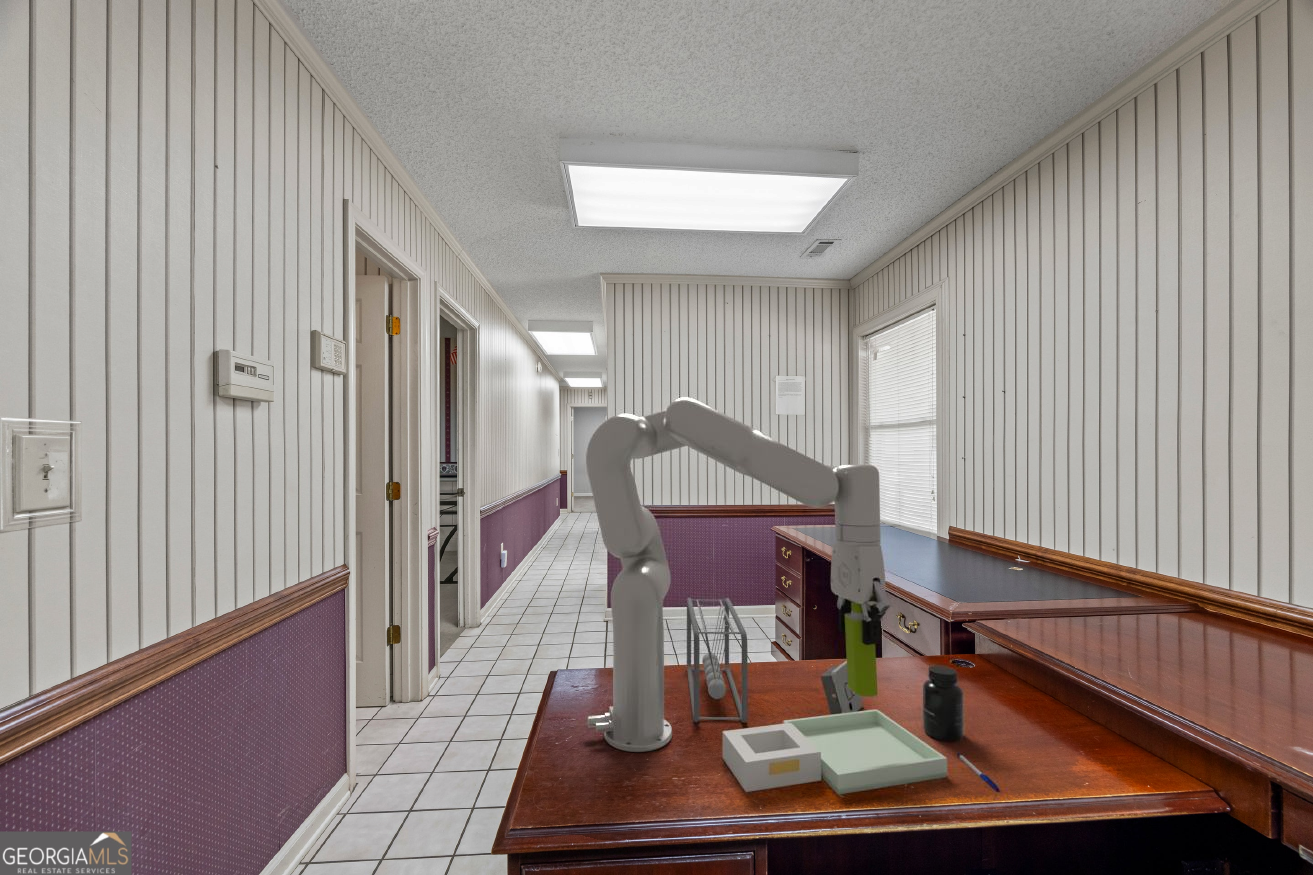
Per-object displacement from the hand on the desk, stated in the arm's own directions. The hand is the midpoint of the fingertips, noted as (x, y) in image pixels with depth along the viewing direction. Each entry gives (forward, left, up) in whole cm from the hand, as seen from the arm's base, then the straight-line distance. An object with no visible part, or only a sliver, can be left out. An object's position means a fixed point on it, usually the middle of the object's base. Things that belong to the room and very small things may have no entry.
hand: (859, 636), depth 96 cm
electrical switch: (+7, +16, -21) cm, 27 cm away
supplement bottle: (+20, +3, -21) cm, 29 cm away
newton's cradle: (-16, +30, -21) cm, 40 cm away
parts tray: (0, 0, -20) cm, 20 cm away
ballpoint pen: (+16, -9, -21) cm, 28 cm away
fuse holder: (-17, 0, -20) cm, 27 cm away
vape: (0, -1, -9) cm, 9 cm away
